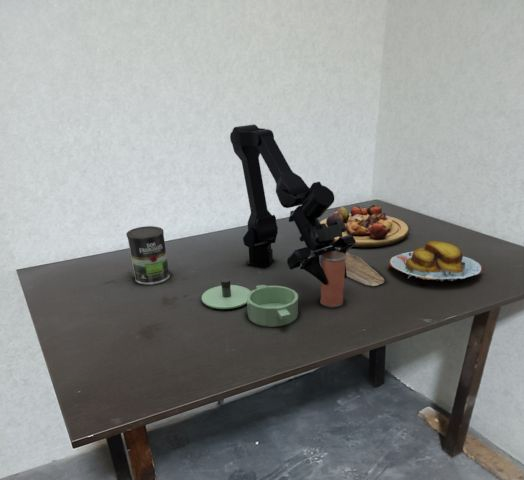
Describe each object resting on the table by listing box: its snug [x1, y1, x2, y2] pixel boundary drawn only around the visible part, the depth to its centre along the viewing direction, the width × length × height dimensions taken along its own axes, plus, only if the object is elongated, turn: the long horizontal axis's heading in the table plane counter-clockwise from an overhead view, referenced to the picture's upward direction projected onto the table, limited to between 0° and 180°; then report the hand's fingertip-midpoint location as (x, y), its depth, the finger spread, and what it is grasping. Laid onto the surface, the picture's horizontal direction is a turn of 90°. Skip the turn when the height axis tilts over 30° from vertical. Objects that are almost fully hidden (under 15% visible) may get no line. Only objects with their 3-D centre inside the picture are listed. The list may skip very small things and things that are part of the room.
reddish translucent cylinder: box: [319, 251, 346, 309], centre depth 123 cm, size 6×6×13 cm
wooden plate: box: [320, 204, 410, 248], centre depth 169 cm, size 32×32×8 cm
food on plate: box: [388, 240, 483, 282], centre depth 139 cm, size 25×25×7 cm
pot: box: [246, 283, 299, 328], centre depth 121 cm, size 13×18×5 cm
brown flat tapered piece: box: [345, 252, 385, 287], centre depth 144 cm, size 26×10×1 cm, turn 31°
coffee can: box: [126, 225, 171, 286], centre depth 140 cm, size 10×10×14 cm
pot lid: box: [201, 277, 252, 310], centre depth 129 cm, size 14×14×6 cm
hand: (336, 281), depth 122 cm, fingers closed on reddish translucent cylinder, 6 cm apart
